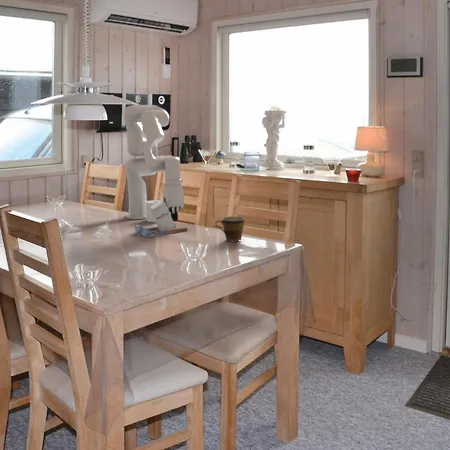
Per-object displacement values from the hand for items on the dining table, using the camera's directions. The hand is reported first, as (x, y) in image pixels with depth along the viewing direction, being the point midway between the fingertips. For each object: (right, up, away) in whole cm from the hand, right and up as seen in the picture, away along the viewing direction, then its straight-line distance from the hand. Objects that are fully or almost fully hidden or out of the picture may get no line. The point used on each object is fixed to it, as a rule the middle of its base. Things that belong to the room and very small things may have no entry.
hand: (174, 220), depth 298 cm
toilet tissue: (-11, 0, +26) cm, 28 cm away
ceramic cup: (+27, -9, -23) cm, 36 cm away
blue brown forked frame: (-6, -5, -3) cm, 8 cm away
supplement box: (-3, -4, -1) cm, 5 cm away
